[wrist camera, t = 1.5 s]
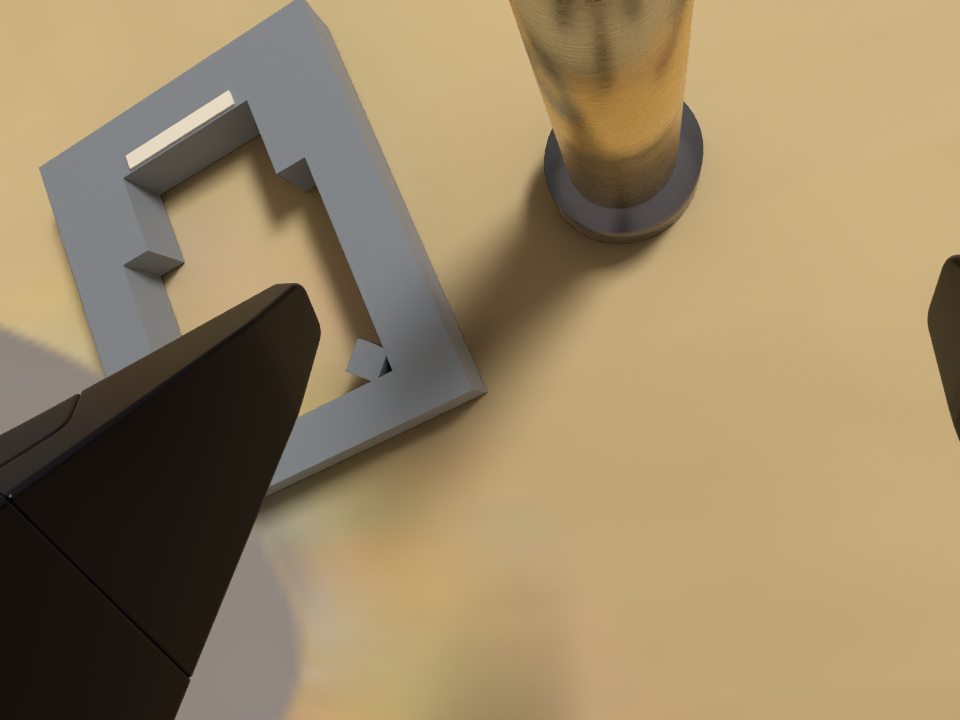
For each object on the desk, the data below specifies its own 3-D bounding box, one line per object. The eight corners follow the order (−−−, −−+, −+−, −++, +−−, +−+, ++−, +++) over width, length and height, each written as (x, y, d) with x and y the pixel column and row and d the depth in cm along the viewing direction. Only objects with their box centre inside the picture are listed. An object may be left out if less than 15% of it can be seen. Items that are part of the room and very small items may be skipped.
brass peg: (660, 266, 21) (673, 57, 9) (527, 213, 23) (377, -33, 10) (725, 128, 21) (831, -281, 9) (587, 83, 23) (509, -327, 10)
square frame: (487, 392, 23) (471, 389, 21) (195, 530, 25) (155, 540, 23) (327, 27, 26) (300, -6, 24) (80, 184, 28) (36, 166, 26)
